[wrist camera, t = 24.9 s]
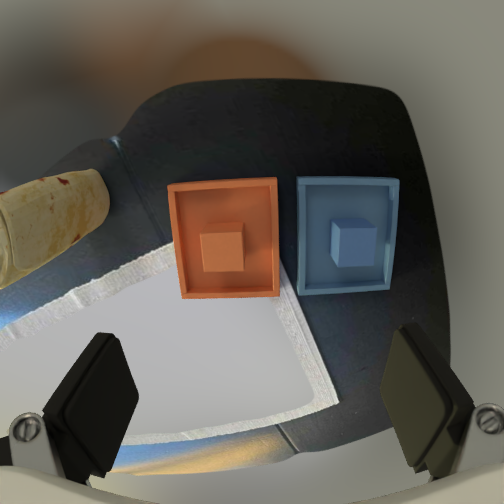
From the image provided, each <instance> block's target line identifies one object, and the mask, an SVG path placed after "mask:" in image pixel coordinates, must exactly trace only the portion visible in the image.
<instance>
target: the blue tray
mask: <svg viewBox="0 0 504 504" xmlns="http://www.w3.org/2000/svg"><path fill="white" fill-rule="evenodd" d="M296 180H297V291H298V295H315V294H332V293H347V292H361V291H374V290H386V289H390V282H391V275H392V268H393V259H394V251H395V241H396V230H397V217H398V201H399V179H395V178H386V177H349V176H303V177H296ZM357 218H364V219H366V220H367V221H368V222H370V223H371V224H373V225H374V226H375V227H377V237H376V249H375V260H374V265H368V266H349V267H337V265H336V263H335V262H334V260H333V259H332V257H331V255H330V254H329V247H330V219H357Z"/></svg>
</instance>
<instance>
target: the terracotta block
mask: <svg viewBox="0 0 504 504" xmlns="http://www.w3.org/2000/svg"><path fill="white" fill-rule="evenodd" d="M200 238H201V248H202V257H203V266H204V272H225V271H244V267H245V258H246V254H245V236H244V222H227V223H207V224H206V226H205V227H204V229H203V230H202V232H201V233H200Z"/></svg>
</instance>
